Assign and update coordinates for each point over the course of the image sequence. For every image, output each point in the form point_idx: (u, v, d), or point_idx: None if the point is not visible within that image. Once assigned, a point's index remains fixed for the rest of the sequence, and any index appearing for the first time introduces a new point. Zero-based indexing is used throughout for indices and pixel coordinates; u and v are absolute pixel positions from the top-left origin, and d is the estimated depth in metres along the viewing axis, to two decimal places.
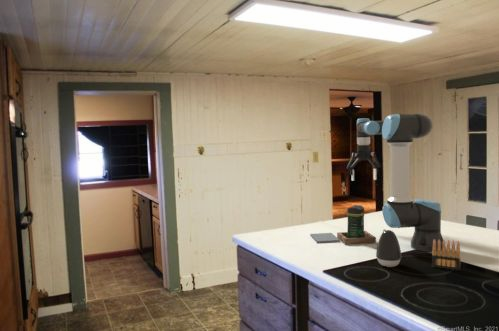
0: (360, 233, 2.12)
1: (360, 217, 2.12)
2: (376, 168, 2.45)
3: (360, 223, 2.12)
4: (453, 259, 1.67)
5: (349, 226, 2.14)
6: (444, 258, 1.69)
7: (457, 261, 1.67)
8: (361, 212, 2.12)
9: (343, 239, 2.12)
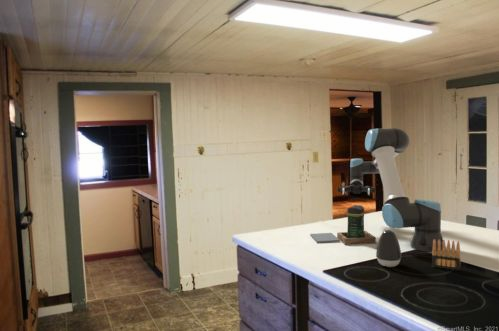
0: (360, 233, 2.12)
1: (360, 217, 2.12)
2: (369, 188, 2.29)
3: (360, 223, 2.12)
4: (453, 259, 1.67)
5: (349, 226, 2.14)
6: (444, 258, 1.69)
7: (457, 261, 1.67)
8: (361, 212, 2.12)
9: (343, 239, 2.12)
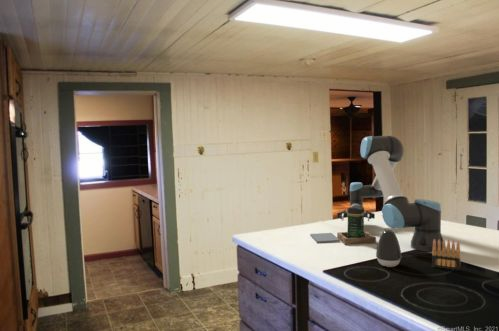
0: (360, 233, 2.12)
1: (360, 217, 2.12)
2: (369, 214, 2.27)
3: (360, 223, 2.12)
4: (453, 259, 1.67)
5: (349, 226, 2.14)
6: (444, 258, 1.69)
7: (457, 261, 1.67)
8: (361, 212, 2.12)
9: (343, 239, 2.12)
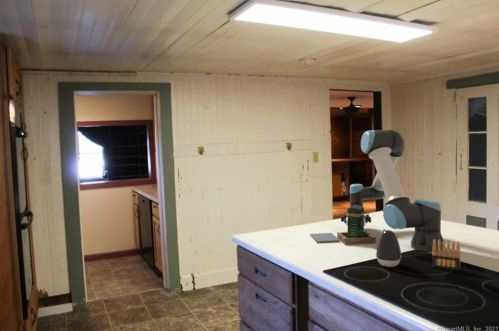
0: (360, 233, 2.12)
1: (360, 217, 2.12)
2: (365, 218, 2.17)
3: (360, 223, 2.12)
4: (453, 259, 1.67)
5: (349, 226, 2.14)
6: (444, 258, 1.69)
7: (457, 261, 1.67)
8: (361, 212, 2.12)
9: (343, 239, 2.12)
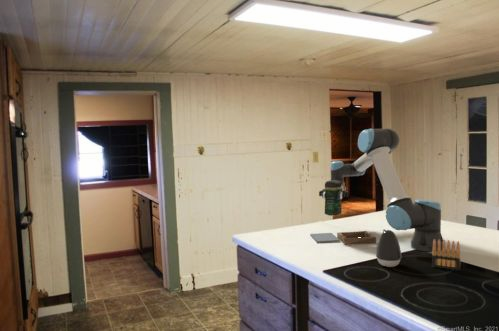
0: (337, 206, 2.17)
1: (337, 191, 2.16)
2: (342, 192, 2.21)
3: (337, 197, 2.16)
4: (453, 259, 1.67)
5: (326, 199, 2.19)
6: (444, 258, 1.69)
7: (457, 261, 1.67)
8: (338, 186, 2.16)
9: (343, 239, 2.12)
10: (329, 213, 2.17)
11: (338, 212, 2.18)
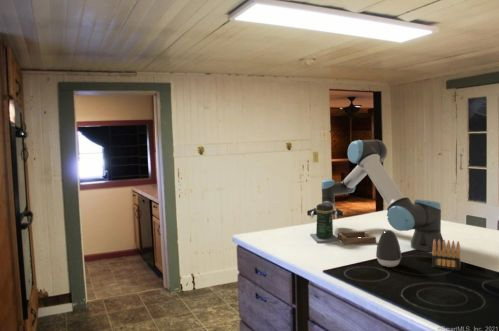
0: (328, 229, 2.18)
1: (328, 214, 2.17)
2: (337, 211, 2.23)
3: (328, 220, 2.18)
4: (453, 259, 1.67)
5: (318, 222, 2.20)
6: (444, 258, 1.69)
7: (457, 261, 1.67)
8: (329, 209, 2.18)
9: (343, 239, 2.12)
10: (321, 236, 2.19)
11: (330, 235, 2.19)
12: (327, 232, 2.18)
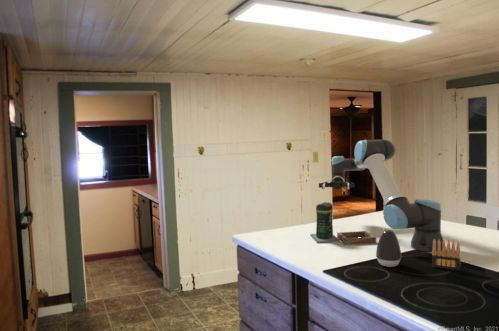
0: (328, 229, 2.18)
1: (328, 214, 2.18)
2: (349, 183, 2.35)
3: (328, 220, 2.18)
4: (453, 259, 1.67)
5: (318, 222, 2.20)
6: (444, 258, 1.69)
7: (457, 261, 1.67)
8: (329, 209, 2.18)
9: (343, 239, 2.12)
10: (321, 236, 2.19)
11: (329, 235, 2.19)
12: (327, 232, 2.18)
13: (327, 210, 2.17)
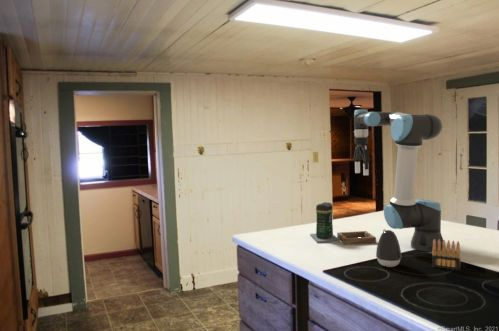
0: (328, 229, 2.18)
1: (328, 214, 2.18)
2: (359, 161, 2.43)
3: (328, 220, 2.18)
4: (453, 259, 1.67)
5: (318, 222, 2.20)
6: (444, 258, 1.69)
7: (457, 261, 1.67)
8: (329, 209, 2.18)
9: (343, 239, 2.12)
10: (321, 236, 2.19)
11: (329, 235, 2.19)
12: (327, 232, 2.18)
13: (327, 210, 2.17)
